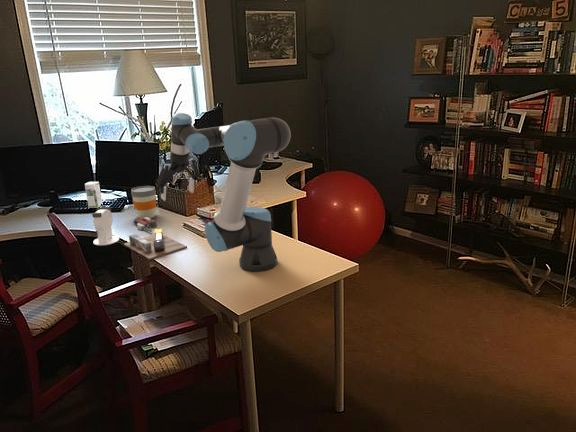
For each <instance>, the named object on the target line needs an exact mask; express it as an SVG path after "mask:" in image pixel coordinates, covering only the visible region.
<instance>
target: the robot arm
mask: <svg viewBox="0 0 576 432" xmlns="http://www.w3.org/2000/svg"><path fill="white" fill-rule="evenodd" d="M171 118H172V120H171V130H170V132H171V133H170V136H171V137H170V138H171V139H170V152H169V153H170V154H169V155H170V156H169V159H170V162H169V163H165V162H164V163H163V164H162V167H161V168H162V169H161V170H160V173H159V175H158V177H157V178H156V180H155V183H154V184H155V185H156V186H157V187H158V190H159V193H160V199H162V200H163V202H165V201H166V200H167V184H168V183H169V181H170V180H171V179H172V177H173V176H174V175H176V173H177V174H178V173H181V172H184V171H185V172H186V173H187V174H189V176H190V177H189V179H188V191H189V192H190V193H191V194H194V190H195V185H196V181H198V178H200V177H201V174H200V172H199V170H198V167H197V165H196V159H194V158H193V157H190V151H191V152H192V153H194V154H196V155H202V154H204V153H205V152H207V150H209V148H214V147H222V146H223V149H224V152H225V153H226V154H225V155H226V156H227V157H228V160H229V161H230V166H229V169H228V174H227V178H226V183H225V187H224V191H223V195H222V200H221V204H220V208H219V209H218V210H217V211H216V212H215V213H214V216H213V219H212V221H208V222H207V223H206V224H205V225H204V234H205V237H206V240H207V243H208V245H209V246H210V248H211V249H212V250H213V251H215V252H217V253H221V252H227V251H229V250H231V249H236V248H238V247H240V246H241V247H242V248H241V252H240V256H239V261H238V262H239V267H240V268H241V269H242V270H245V271H247V272H263V271H264V272H266V271H269V270H271V269H273V268H275V267H276V266H277V265H278V257H277V254H276V251H275V249H274V247H273V237H272V218H271V216H272V215H271V212H270V211H269V210H268V209H267V208H265V207H258V206H247V203H248V199H249V196H250V192H251V190H252V189H251V188H252V186H253V185H252V184H253V181H254V177H255V175H256V170H257V169H258V168H260V167H261V166H262V165H263V162H264V159H265V157H266V156H267V155H271V154H276V153H280V152H281V151H283V150H284V149H286V147H288V145H289V143H290V142H291V137H292V135H291V129H290V127H289V125H288V123H287V122H286V121H284V120H283V119H281V118H278V117H265V118H257V119H251V120H240V121H237V122H234V123H232V124H226V125H220V126H214V127H213V126H212V127H207V128H199V129H198V128H196V127H194V126H193V125H192V123H193V119H192V116H191V115H190V114H188V113H186V112H185V113H184V112H178V113H175V114H174V115H173V114H172V117H171ZM188 165H190V167H191V169H192V170H190V169H189V168H188ZM192 171H193V172H192Z"/></svg>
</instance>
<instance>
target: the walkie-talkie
mask: <svg viewBox="0 0 576 432" xmlns="http://www.w3.org/2000/svg"><path fill="white" fill-rule="evenodd" d="M132 223H133V224H134V225H135V226H136V227H137V229H138V230H141V231H144V230H145V231H147V232H149V233H152V231H153V230H152V229H151V228H155V227H158V226H157V221H156V220H154V219H153V218H148V217H140V218H138V217H137V218H134V220H133V221H132Z"/></svg>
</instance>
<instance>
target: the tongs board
mask: <svg viewBox="0 0 576 432" xmlns="http://www.w3.org/2000/svg"><path fill="white" fill-rule="evenodd" d="M128 238H129V241H128V242H125V243H123V246H125V247H126V248H128V249H129V250H131V251H132V252H134V253H137V254H138V255H140V256H141V257H144V259H146V260H148V261H152V260H154V259H158V258H161V257H163V255H164V256H167V255H170V254H173V253H175V252H179V250H180V251H182V249H183V250H186V249H188V246H187V245H185V244H183V243H181V242H179V241H176V240H175V239H172V238H171V237H169V236H166V235H164V234H163V240H164V246H165V250H164V251H160V252H156V251H154V244H153V241H154V240H156V238H155V234H153V235H149V236H145V237H141V236H139V235H138V234H136V233H135V234H130V235H128ZM185 248H186V249H185ZM166 254H167V255H166Z"/></svg>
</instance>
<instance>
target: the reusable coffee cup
mask: <svg viewBox="0 0 576 432" xmlns="http://www.w3.org/2000/svg"><path fill="white" fill-rule="evenodd" d="M130 190H131V191H130V192H131V193H130V194H131V197H132V204H133V206H134V210H135V211H136V215H137V218H140V217H148V218H151V219H153V218H154V217H156V207H157V197H156V194H157V191H156V187H155V186H151V185H143V186H142V185H141V186H136V187H133V188H131V189H130Z"/></svg>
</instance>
